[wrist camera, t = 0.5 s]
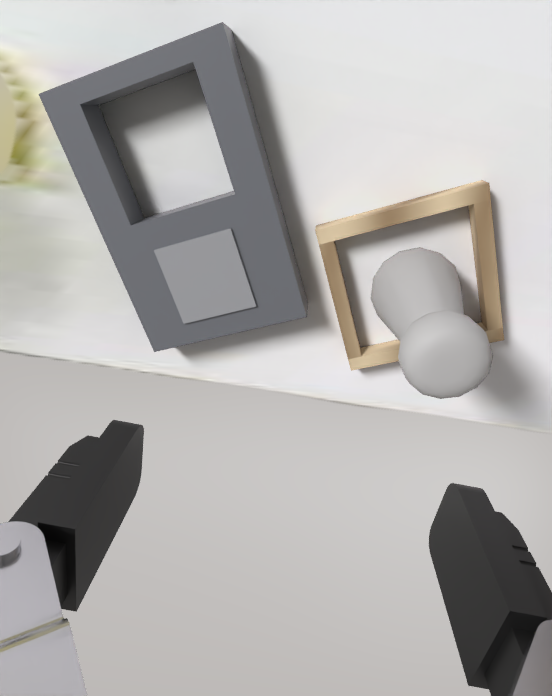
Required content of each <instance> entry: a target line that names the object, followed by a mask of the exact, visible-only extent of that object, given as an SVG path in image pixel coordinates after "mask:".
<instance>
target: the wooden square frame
mask: <svg viewBox="0 0 552 696" xmlns="http://www.w3.org/2000/svg"><path fill="white" fill-rule="evenodd" d="M464 206H468V207H469V216H470V225H471V233H472V242H473V251H474V260H475V268H476V277H477V286H478V294H479V303H480V312H481V321H482V322H481V323H477V324H478V325H479V326H480V327H481V328H482V329H483V330H484V331H485V332H486V334H487V337H488V340H489V343H492V342H497V341H502V340H504V335H503V324H502V314H501V303H500V292H499V282H498V271H497V261H496V250H495V239H494V229H493V218H492V208H491V197H490V186H489V183H487V182H485V181H483V180H481V181H477V182H474V183H470V184H466V185H463V186H459V187H456V188H452V189H448V190H445V191H441V192H437V193H434V194H430V195H426V196H423V197H419V198H415V199H412V200H408V201H404V202H401V203H397V204H393V205H390V206H386V207H382V208H379V209H375V210H371V211H368V212H364V213H360V214H357V215H353V216H349V217H346V218H342V219H339V220H335V221H331V222H328V223H324V224H320V225H317V226H316V229H315V231H316V235H317V239H318V243H319V247H320V251H321V255H322V259H323V262H324V266H325V270H326V274H327V278H328V282H329V286H330V290H331V294H332V298H333V302H334V306H335V310H336V313H337V317H338V321H339V325H340V329H341V333H342V337H343V341H344V345H345V349H346V353H347V357H348V360H349V364H350V368H351V370H356V369H361V368H366V367H372V366H377V365H382V364H387V363H392V362H397V361H399V359H398V354H399V347H400V341H399V340H395V341H390V342H385V343H380V344H375V345H371V346H366V347H361V348H360V345H359V340H358V336H357V332H356V328H355V324H354V320H353V315H352V311H351V307H350V303H349V299H348V295H347V290H346V286H345V282H344V278H343V274H342V270H341V265H340V261H339V257H338V253H337V249H336V244H335V240H339V239H343V238H347V237H351V236H354V235H358V234H362V233H366V232H370V231H373V230H377V229H381V228H385V227H388V226H392V225H396V224H400V223H404V222H407V221H411V220H415V219H419V218H423V217H426V216H430V215H434V214H438V213H442V212H445V211H449V210H453V209H457V208H460V207H464Z"/></svg>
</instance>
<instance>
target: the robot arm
mask: <svg viewBox="0 0 552 696" xmlns="http://www.w3.org/2000/svg"><path fill="white" fill-rule="evenodd" d="M143 435H144V429H143V426H142V425H139V424H133V423H128V422H122V421H117V420H113V421H112V422H111V423H110V424H109V425H108V427H107V428H106V430H105V431H104V432H103V434H102V435H101V436H100V438H98V437H93V436H86V437H85V438H83V439H81V440H80V441H78V442H77V443H75V444H73V445H71V446H70V447H69V448H68V449H67V450H66V452H65V453H64V454H63V455H62V456H61V458H60V459H59V460H58V463H57V464H55V465H54V466H53V468H52V469H51V470H50V471H49V473H48V476H45V477H44V479H43V480H42V481H41V482H40V484H39V485H38V486H37V488H36V489H35V490H34V491H33V492H32V494H31V495H30V496H29V497H28V498H27V500H26V501H25V502H24V503H23V505H22V506H21V507H20V508H19V509H18V511H17V512H16V513H15V514H14V516H13V517H12V518H11V519H10V521H9V522H5V523H1V524H0V696H87V692H86V688H85V684H84V680H83V676H82V672H81V668H80V664H79V659H78V655H77V651H76V647H75V643H74V640H73V635H72V631H71V628H70V624H69V622H68V619H64V618H63V614H62V610H61V609H66V610H71V611H77V609H78V607H79V605H80V603H81V602H82V599H83V598H84V595H85V594H86V592H87V590H88V588H89V586H90V584H91V582H92V580H93V578H94V576H95V574H96V572H97V570H98V568H99V566H100V564H101V562H102V560H103V558H104V556H105V554H106V552H107V550H108V548H109V546H110V544H111V542H112V541H113V539H114V537H115V535H116V532H117V531H118V529H119V527H120V525H121V523H122V521H123V519H124V517H125V515H126V513H127V511H128V509H129V507H130V505H131V503H132V501H133V499H134V497H135V495H136V492H137V489H138V486H139V483H140V478H141V469H142V452H143ZM429 549H430V554H431V557H432V561H433V564H434V568H435V571H436V575H437V578H438V582H439V585H440V589H441V592H442V595H443V599H444V603H445V606H446V610H447V613H448V616H449V620H450V623H451V627H452V630H453V634H454V637H455V641H456V644H457V648H458V651H459V655H460V658H461V662H462V665H463V668H464V672H465V675H466V679H467V683H468V685H469V686H474V687H479V688H485V689H489V690H490V693H491V696H552V592H551V590H550V588H549V586H548V585H547V583H546V581H545V579H544V577H543V575H542V573H541V571H540V570H539V568H538V567H536V562H535V560H534V558H533V557H532V555H531V553H530V552H528V547H527V545H526V543H525V542H524V540H523V538H522V536H521V534H520V532H519V530H518V529H517V528H516V527H515V526H514V525H513V524H512V523H511V522H510V521H509V520H508V519H507V518H506V517H505V516H504V515H503V514H502V513H500V512H495V511H494V509H493V507H492V505H491V503H490V501H489V499H488V497H487V495H486V493H485V492H484V490H483V489H481V488H476V487H470V486H465V485H460V484H454V483H452V484H450V485H449V486H448V487H447V489H446V492H445V494H444V497H443V499H442V501H441V504H440V506H439V509H438V512H437V514H436V516H435V519H434V521H433V524H432V526H431V529H430V535H429Z"/></svg>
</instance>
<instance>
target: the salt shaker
mask: <svg viewBox="0 0 552 696" xmlns="http://www.w3.org/2000/svg"><path fill="white" fill-rule="evenodd" d="M371 301H372V303H373V305H374V308H375V310H376V313H377V315H378V316H379V318H380V319H381V320H382V321H383V322H384V323H385V324H386V326H387V327H388V328H389V329H390V330H391V331H392V333H393V334H394V335H395V336H396V337H397V338H398V340H399V341H400V347H399V354H398V359H399V363H400V366H401V368H402V370H403V373H404V375H405V378H406V379H407V381H408V382H409V383H410V384H411V385H412V386H413V387H414V388H416V389H417V390H418V391H419V392H420V393H422V394H423V395H427V396H432V397H436V398H440V399H442V398H451V397H459V396H461V395H463V394H465V393H467V392H469V391H471V390H473V389H475V388H476V387H478V385H479V384H480V383H481V382H482V381H483V380H484V378H485V377H486V376H487V375H488V374H489V371H490V367H491V362H492V358H493V355H492V351H491V347H490V344H489V340H488V337H487V334H486V332H485V331H484V330H483V329H482V328H481V327H480V326H479V325H478V324H477V323H475V322H474V321H473V320H472V319H471V318H470V317H468V316H467V315H464V310H463V301H462V293H461V284H460V281H459V277H458V274H457V270H456V267H455V266H454V265H453V264H452V263H451V262H450V261H449V260H448V259H446V258H445V257H444V256H443V255H442V254H440V253H438V252H434V251H431V250H427V249H424V248H420V247H419V248H414V249H409V250H404V251H399V252H398V253H396V254H395V255H393V256H392V257H390V258H389V259H387V260H386V261H384V262H383V263H382V265H381V267H380V268H379V270H378V272H377V273H376V275H375V276H374V278H373V284H372V293H371Z"/></svg>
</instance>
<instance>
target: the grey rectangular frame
mask: <svg viewBox="0 0 552 696" xmlns="http://www.w3.org/2000/svg"><path fill="white" fill-rule="evenodd" d="M195 69H196V72H197V75H198V78H199V82H200V85H201V88H202V91H203V94H204V97H205V101H206V104H207V107H208V110H209V113H210V116H211V119H212V123H213V126H214V129H215V132H216V135H217V138H218V142H219V145H220V148H221V151H222V154H223V157H224V160H225V164H226V167H227V170H228V173H229V176H230V179H231V183H232V186H233V189H234V191H232V192H229V193H226V194H222V195H219V196H216V197H213V198H209V199H206V200H203V201H199V202H196V203H193V204H189V205H186V206H183V207H179V208H176V209H173V210H170V211H166V212H163V213H160V214H156V215H153V216H150V217H146V218H144V216H143V214H142V212H141V209H140V207H139V204H138V202H137V199H136V197H135V194H134V192H133V189H132V187H131V184H130V182H129V179H128V177H127V174H126V172H125V170H124V167H123V165H122V162H121V160H120V157H119V155H118V152H117V150H116V147H115V145H114V142H113V140H112V137H111V135H110V132H109V130H108V128H107V125H106V123H105V120H104V118H103V115H102V113H101V110H100V108H99V105H100V104H103V103H106V102H109V101H111V100H114V99H117V98H119V97H122V96H125V95H127V94H130V93H133V92H135V91H138V90H141V89H143V88H146V87H149V86H152V85H154V84H157V83H160V82H162V81H165V80H168V79H170V78H173V77H176V76H178V75H181V74H184V73H187V72H189V71H192V70H195ZM39 96H40V98H41V101H42V103H43V105H44V107H45V110H46V112H47V114H48V116H49V118H50V121H51V123H52V125H53V127H54V130H55V132H56V134H57V136H58V138H59V141H60V143H61V145H62V147H63V150H64V152H65V154H66V156H67V158H68V161H69V163H70V165H71V167H72V170H73V172H74V174H75V176H76V179H77V181H78V183H79V185H80V187H81V190H82V192H83V194H84V196H85V199H86V201H87V203H88V205H89V207H90V210H91V212H92V214H93V216H94V219H95V221H96V223H97V225H98V227H99V230H100V232H101V234H102V236H103V239H104V241H105V243H106V245H107V248H108V250H109V252H110V254H111V256H112V259H113V261H114V263H115V265H116V268H117V270H118V272H119V274H120V276H121V279H122V281H123V283H124V285H125V288H126V290H127V292H128V294H129V296H130V299H131V301H132V303H133V305H134V308H135V310H136V312H137V314H138V317H139V319H140V321H141V323H142V325H143V328H144V330H145V332H146V334H147V337H148V339H149V341H150V343H151V345H152V348H153V350H154V352H156V351H160V350H165V349H169V348H174V347H178V346H182V345H187V344H191V343H195V342H200V341H204V340H208V339H213V338H217V337H221V336H226V335H230V334H234V333H239V332H243V331H247V330H252V329H256V328H260V327H265V326H269V325H274V324H278V323H282V322H287V321H291V320H295V319H300V318H304V317H307V310H308V301H307V298H306V294H305V291H304V287H303V283H302V280H301V276H300V273H299V269H298V266H297V262H296V258H295V255H294V251H293V248H292V244H291V241H290V237H289V233H288V230H287V226H286V223H285V219H284V216H283V212H282V208H281V205H280V201H279V198H278V194H277V191H276V187H275V183H274V180H273V176H272V173H271V169H270V166H269V162H268V158H267V155H266V151H265V148H264V144H263V141H262V137H261V133H260V130H259V126H258V123H257V119H256V116H255V112H254V108H253V105H252V101H251V98H250V94H249V91H248V87H247V83H246V80H245V76H244V73H243V69H242V66H241V62H240V58H239V55H238V51H237V48H236V44H235V41H234V37H233V33H232V30H231V29H230V28H229V27H228V26H227V25H225V24H224V23H223V22H222V23H219V24H217V25H214V26H211V27H209V28H206V29H204V30H201V31H199V32H196V33H194V34H191V35H188V36H186V37H183V38H181V39H178V40H176V41H173V42H171V43H168V44H165V45H163V46H160V47H158V48H155V49H153V50H150V51H148V52H145V53H142V54H140V55H137V56H135V57H132V58H130V59H127V60H124V61H122V62H119V63H117V64H114V65H112V66H109V67H107V68H104V69H101V70H99V71H96V72H94V73H91V74H89V75H86V76H84V77H81V78H78V79H76V80H73V81H71V82H68V83H66V84H63V85H61V86H58V87H55V88H53V89H50V90H48V91H45V92H43V93H40V94H39Z"/></svg>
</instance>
